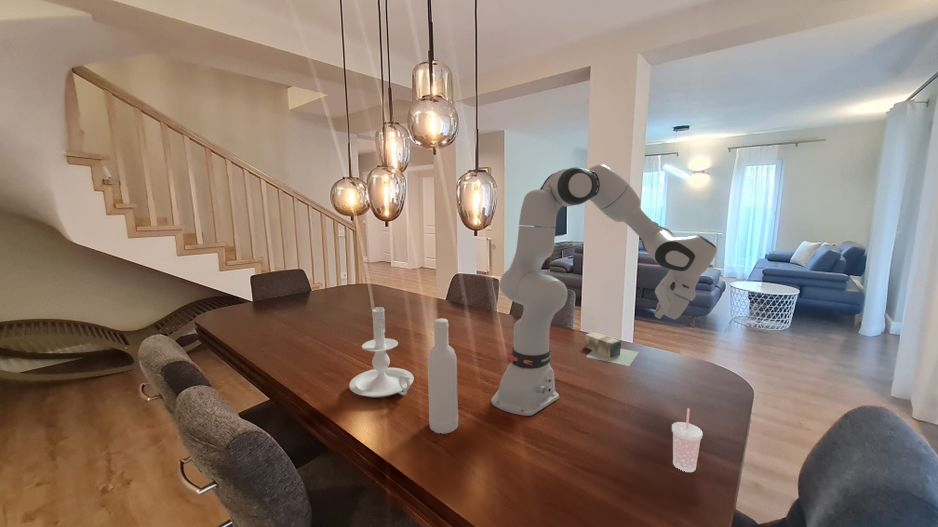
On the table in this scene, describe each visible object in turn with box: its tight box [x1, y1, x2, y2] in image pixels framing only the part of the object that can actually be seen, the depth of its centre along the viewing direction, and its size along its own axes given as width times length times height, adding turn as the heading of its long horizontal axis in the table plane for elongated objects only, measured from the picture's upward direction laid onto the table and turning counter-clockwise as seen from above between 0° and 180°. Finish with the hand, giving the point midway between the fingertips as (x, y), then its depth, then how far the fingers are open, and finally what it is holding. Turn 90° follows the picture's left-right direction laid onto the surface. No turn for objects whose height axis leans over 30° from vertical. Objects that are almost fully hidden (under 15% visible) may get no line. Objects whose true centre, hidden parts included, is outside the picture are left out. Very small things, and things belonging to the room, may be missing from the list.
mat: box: [585, 348, 639, 367], centre depth 152 cm, size 16×16×1 cm
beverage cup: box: [671, 407, 704, 473], centre depth 87 cm, size 6×6×14 cm
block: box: [584, 331, 622, 357], centre depth 156 cm, size 6×6×13 cm
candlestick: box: [348, 306, 415, 398], centre depth 124 cm, size 21×25×28 cm
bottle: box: [426, 318, 459, 435], centre depth 103 cm, size 8×8×30 cm
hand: (656, 316), depth 132 cm, fingers closed
